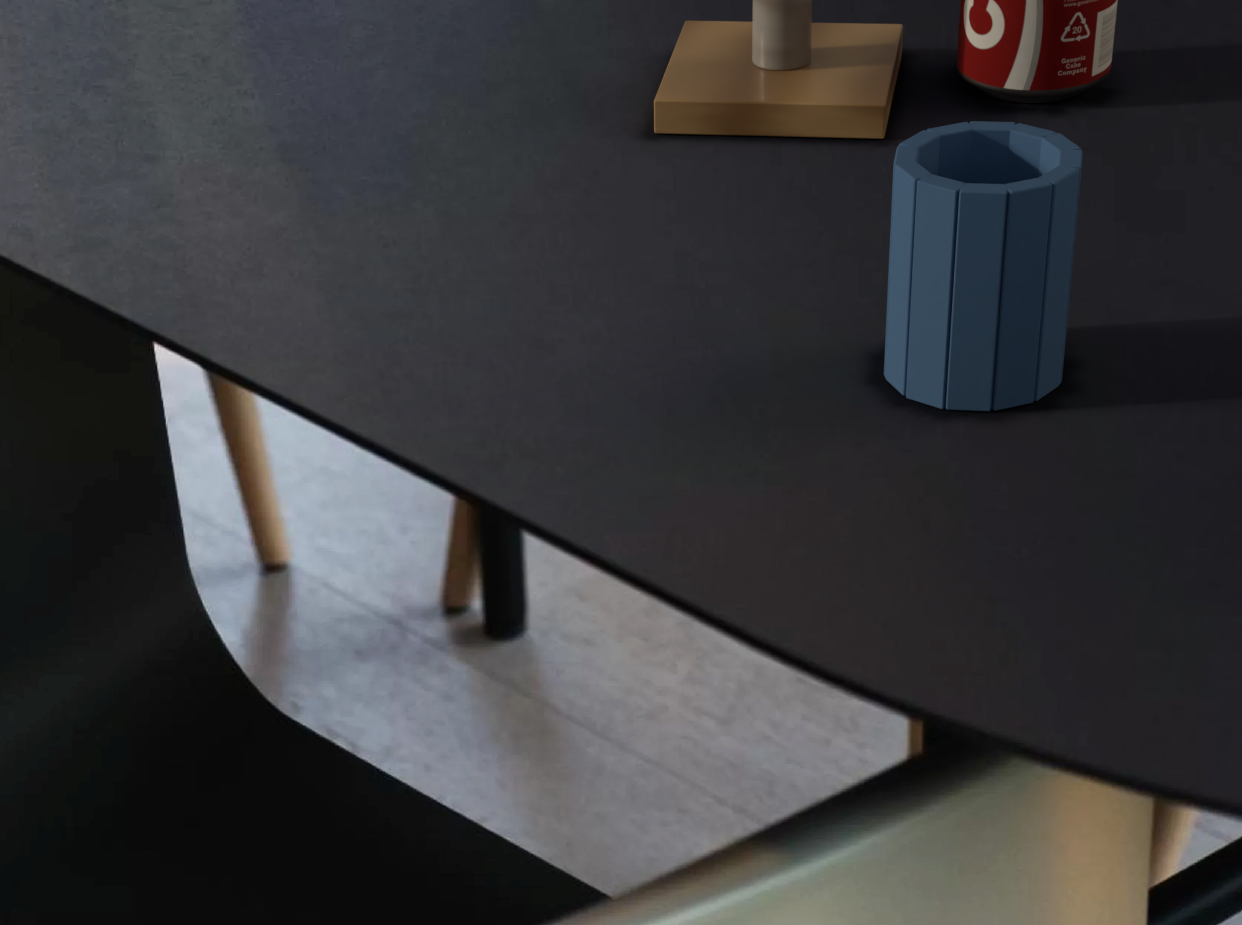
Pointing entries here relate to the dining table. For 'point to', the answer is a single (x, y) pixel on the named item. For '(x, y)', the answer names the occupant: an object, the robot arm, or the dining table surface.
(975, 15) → the soda can
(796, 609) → the dining table surface
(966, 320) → the sleeve
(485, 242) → the dining table surface
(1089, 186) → the dining table surface
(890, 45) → the wooden base plate
